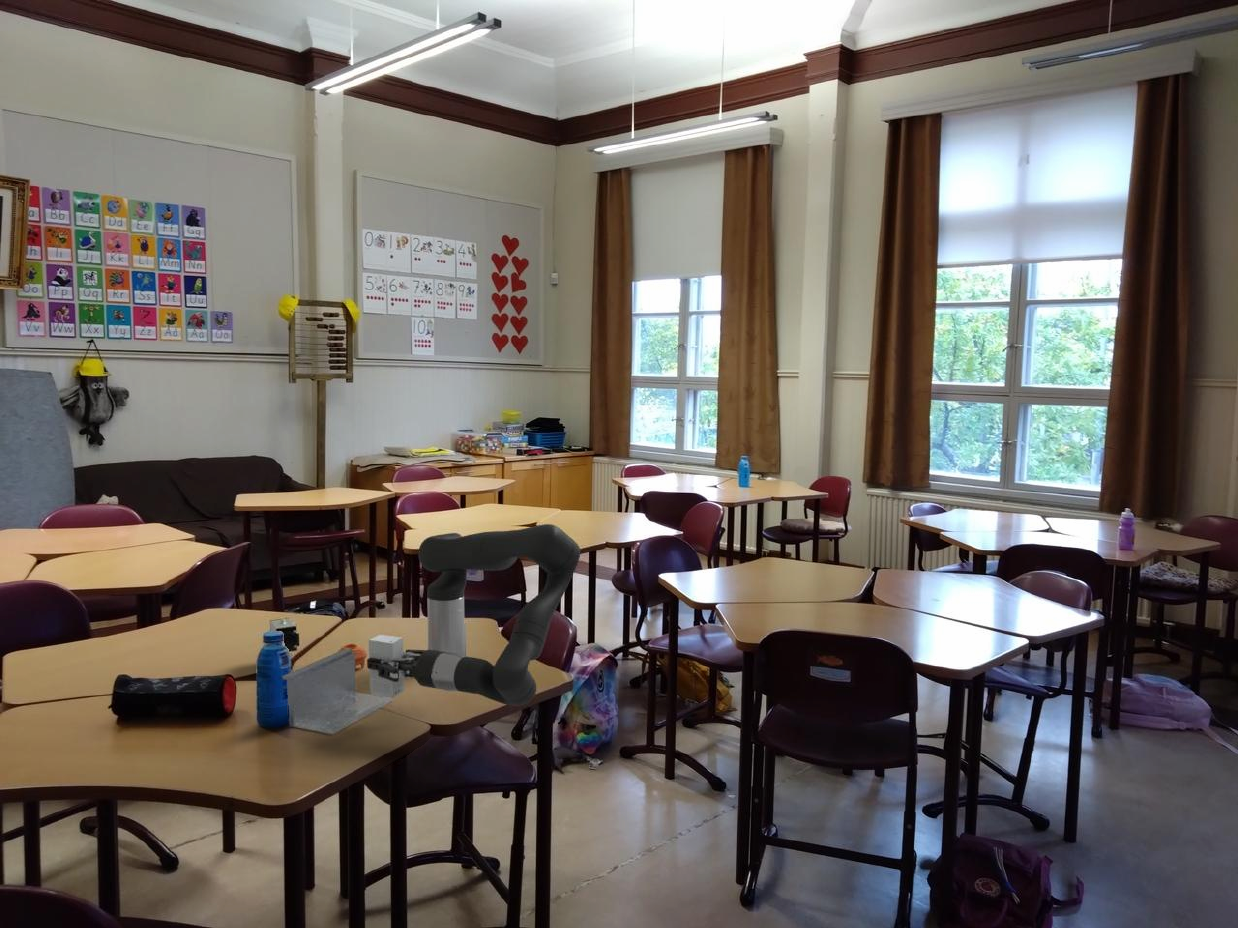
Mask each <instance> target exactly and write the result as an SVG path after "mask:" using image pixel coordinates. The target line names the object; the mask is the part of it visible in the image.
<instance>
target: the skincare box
mask: <svg viewBox="0 0 1238 928" xmlns="http://www.w3.org/2000/svg"><path fill="white" fill-rule="evenodd" d="M403 652H404V639H403V637H400V636H399V637H398V636H392V635H386V634H385V635H384V634H379V635H377V636H375V637H372V638H370V639H368V659H369V658H376V659H382V660H393V659H394V658H403ZM387 665H389V666H391V665H390V664H387ZM397 668H398V663H397ZM368 672H369V695H374V696H379V697H391V698H392V699H393V698H396V697H397V696H399V695H401V694H402V693H404V692H405V677H404V676H401V677H399V681H397V682H393V681H390V680H388V679H385V678H383V677H380V676H378V670H373V669H369V671H368Z"/></svg>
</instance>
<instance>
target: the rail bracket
mask: <svg viewBox="0 0 1238 928" xmlns="http://www.w3.org/2000/svg"><path fill="white" fill-rule="evenodd" d="M338 651H339V650H338ZM338 651H337V652H333V653H332V654H330V655H328V656H325V657H323V658H321V659H318V660H317V661H313V662H311V663H309V664H307V665H305V666H302V667H300V668H298V669H296V670H294V671H290V672H289V673H286V674H284V675H282V676H281V677H282V678H283V679H282V678H281V679H282V680H286V693H287V694H286V695H288V699H287V706H288V705H289V714H290V722H289V723H290V726H289V727H292V728H298V729H302V730H307V731H312V732H317V733H323V734H327V735H334V734H336V733H338V732H339V731H341V730H343V729H345V728H347V727H348V726H350V725H352V724H354V723H356V722H357V721H359V720H362V719H363V718H365V717H366V716H368V715H370V714H372V713H374V712H375V711H377V710H379V709H381V708H382V707H385V706H386V705H388V704H389V703H391V702H392V699H393V698H391V697H385V696H378V695H371V694H368V693H361V692H357V691H356V667H355V653H353V652H352V650H350V649H343V650H341V651H339V652H338ZM373 711H374V712H373Z"/></svg>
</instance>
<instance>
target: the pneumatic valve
mask: <svg viewBox="0 0 1238 928" xmlns="http://www.w3.org/2000/svg"><path fill="white" fill-rule="evenodd" d="M297 626H298V623H297V622H296V621H292V620H291V618H290V617H285V618H279V619H278V618H276V619H271V620H269V632H270V631H282V632H283V633H284V643H285V646H286V647H287V648H288V649H289V652H290V654H291V657H293V653H292V652H296V651H298V647H300V633H299V632H298V631H297Z"/></svg>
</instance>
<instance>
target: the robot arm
mask: <svg viewBox="0 0 1238 928" xmlns="http://www.w3.org/2000/svg"><path fill="white" fill-rule="evenodd" d="M417 555H418V561H419V562H420V564H421V565H422V566H423V568H424V569H425V570H427V571H428V572H431V573H441V574H440V576H439V577H437V579H435V580H434V581H432V582H431V583H430V584H428V586H427V590H426V591H427V592H426V593H427V599H426V601H427V649H405V651H403V658H394V659H393V660H382V659H376V658H369V657H368V658H367V659H366V666H367V669H373V670H378V676H380V677H383V678H385V679H388V680H390V681H393V682H397V681H399V677H401V676H404V678H407V679H412V678H414V679H415V681H416V682H417V683H418V685H420V686H421V687H425V688H430V689H437V690H441V691H442V690H443V691H447V692H462V693H465V694H467V693H468V694H474V695H479V696H482V697H485V698H487V699H490V700H492V701H494V702H498V703H501V704H504V705H506V706H514V707H515V706H516V707H520V706H524V705H526V704H528V703H530V702H531V701H532V700H533V699H534V697H535V695H536V693H537V683H536V680H535V678H534V677H533V676H532V674H531V672H530V671H529V664H530V662H531V661H535V660H537V659H538V658H539V657H540V656H541V653H542V651H543V649H544V647H545V646H544V645H545V642H546V639H547V635H548V632H549V628H550V626H551V624H552V623H551V622H552V619H553V618H554V615H555V612H556V610H557V607H558V606H559V604H560V602H561V600H562V598H563V596H564V594H565V592H566V590H567V588H568V586H569V583H570V581H571V579H572V577H573V575H574V573H575V571H576V569H577V567H578V564H579V561H580V557H581V548H580V546H579V544H578V543H577V542H576V541H575V540H574V539H573V538H572V537H571V536H569V535H568V534H567V533H566V532H564V531H563V529H561V527H559V526H557V525H555V524H551V523H545V524H538V525H534V526H530V527H525V528H522V529H521V528H520V529H512V530H496V531H482V532H476V533H473V534H468V535H464V536H462V535H461V534H460V533H457V532H450V533H443V534H437V535H431V536H429V537H427V538H425V539H423V541H422V542H421V543H420V545H419V548H418V553H417ZM518 558H524V559H528V560H530V561H532V562H533V563H535V564H536V565H537V566H539V568H541V569H542V570H543V571H545V572H546V573H547V576H546V577H547V578H546V581H545V585H544V587H543V589H542V590H541V591H540V592H539V593H538V594H537V595H536V596H534V597H533V598H531V600H529V601H528V602H527V603H526V604H525V605H524V606H523V607H522V609H521V610H520V612H519V613H518V614H517V616H516V620H515V622H514V626H513V629H512V632H511V635H510V638H509V641H508V643H507V644H506V646H505V647H504V649H503V650H502V652H501V654H500V655H499V657H498V659H497V660H496V662H495V665H493V664H492V663H491V662H490V661H488V660H486V659H484V658H480V657H479V658H477V657H471V656H467V630H466V629H467V627H466V626H467V623H466V622H465V588H466V586H467V579H468V573H467V572H468V570H470V571H487V572H488V571H492V572H493V571H504V570H506V569H508V568H510V567H511V566H513V564H515V563H516V561H517V559H518ZM397 663H398V668H397ZM387 664H390V665H391V666H389V665H387Z"/></svg>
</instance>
